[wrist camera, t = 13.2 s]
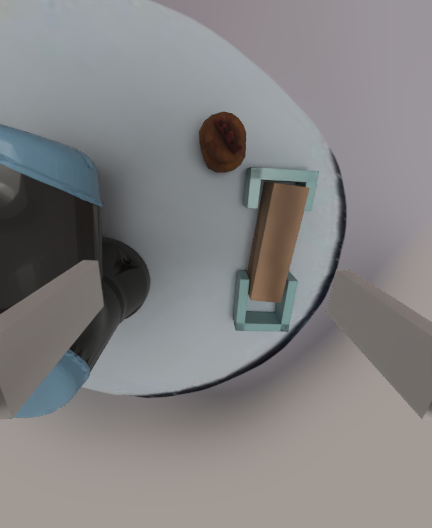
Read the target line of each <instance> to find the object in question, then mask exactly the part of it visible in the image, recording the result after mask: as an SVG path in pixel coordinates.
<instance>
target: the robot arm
mask: <svg viewBox="0 0 432 528" xmlns="http://www.w3.org/2000/svg"><path fill="white" fill-rule="evenodd" d="M101 207H103V203H102V202H101V201H100V192H99V182H98V173H97V169H96V167H95V165H94V163H93V162H92V160H91V159H90V158H89V157H88V156H87V155H85V154H84V153H82V152H81V151H79V150H77V149H74V148H72V147H69V146H67V145H64V144H61V143H59V142H56V141H53V140H50V139H47V138H44V137H41V136H38V135H34V134H31V133H28V132H25V131H22V130H18V129H15V128H12V127H8V126H5V125H2V124H0V419H12V418H30V417H38V416H43V415H46V414H49V413H52V412H54V411H56V410H57V409H58V408H61V407H63V406H65V405H66V404H67V403H68V402H69V401H70V400H71V399H72V398H73V397H74V395H75V394H76V393H77V391H78V390H79V389H80V387H81V386H82V385H83V384H84V383H85V382H86V380H87V379H88V377H89V375H90V372H91V370H92V368H93V367H94V365H95V363H96V362H97V360H98V358H99V357H100V355H101V353H102V351H103V350H104V348H105V346H106V345H107V343H108V341H109V340H110V338H111V336H112V335H113V333H114V331H115V330H116V328H117V326H118V325H119V323H121V322H122V321H123V320H124V319H126V318H128V317H130V316H131V315H133V314H134V313H135V312H137V311H138V310H139V308H140V307H141V306H142V304H143V303H144V301H145V299H146V297H147V295H148V292H149V288H150V276H149V272H148V269H147V267H146V265H145V263H144V261H143V260H142V258H141V257H140V256H139V255H138V254H137V253H136V252H135V251H134V250H133V249H132V248H130V247H129V246H127V245H126V244H124V243H122V242H119V241H116V240H113V239H109V238H102V224H101ZM326 312H327V314H328V315H329V316H330V317H331V318H332V319H333V320H334V321H335V322H336V323H337V325H338V326H339V327H340V328H341V329H342V330H343V331H344V333H345V334H346V335H347V336H348V337H349V338H350V339H351V340H352V341H353V343H354V344H355V345H356V346H357V347H358V348H359V349H360V350H361V352H362V353H363V354H364V355H365V356H366V357H367V358H368V359H369V360H370V362H372V364H373V365H374V366H375V367H376V368H377V369H378V370H379V371H380V373H381V374H382V375H383V376H384V377H385V378H386V379H387V381H389V383H390V384H391V385H392V386H393V387H394V388H395V390H396V391H397V392H398V393H399V394H400V395H401V396H402V397H403V398H404V400H405V401H406V402H407V403H408V404H409V405H410V406H411V407H412V409H413V410H414V411H415V412H416V413H417V414H418V415H419V416H420V417H421V419H432V322H431V321H429V320H427V319H426V318H424V317H422V316H421V315H420V314H418V313H416V312H415V311H413V310H412V309H410V308H409V307H407V306H406V305H404V304H402V303H401V302H399V301H398V300H396V299H395V298H393V297H391V296H390V295H388V294H387V293H385V292H383V291H382V290H380V289H379V288H377V287H375V286H374V285H373V284H371V283H369V282H368V281H366V280H365V279H363V278H362V277H360V276H358V275H357V274H355V273H353V272H352V271H351V270H339V269H336V273H335V277H334V281H333V285H332V289H331V294H330V297H329V301H328V305H327V309H326Z"/></svg>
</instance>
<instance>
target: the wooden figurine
mask: <svg viewBox="0 0 432 528" xmlns="http://www.w3.org/2000/svg"><path fill="white" fill-rule="evenodd" d="M199 137H200V145H201V150H202V154H203V157H204V160H205V162H206V164H207V166H208V168H209V169H211V170H213V171H214V172H228V171H232V170H234V169H236V168H237V167H238V166H240V165H241V163H242V161H243V159H244V158H245V151H246V144H245V143H246V131H245V129H244V126H243V124H242V122H241V121H240V120H239V118H238V117H236V116H235V115H233V114H232V113H228V112H220V113H217V114H214V115H212V116H210V117H209V118H208V119H206V120H205V121H204V123H203V125H202V127H201V129H200V131H199Z"/></svg>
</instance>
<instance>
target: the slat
mask: <svg viewBox="0 0 432 528" xmlns="http://www.w3.org/2000/svg"><path fill="white" fill-rule="evenodd" d="M309 189H310V188H308V187H301V186H294V185H286V184H279V183H269V182H264V186H263V192H262V197H261V202H260V208H259V213H258V218H257V223H256V229H255V234H254V239H253V245H252V250H251V255H250V261H249V266H248V271H247V275H248V277H249V289H248V294H249V297H250V300H256V301H267V302H277V303H281V299H282V295H283V291H284V287H285V283H286V279H287V275H288V272H289V268H290V264H291V260H292V256H293V252H294V248H295V244H296V240H297V236H298V232H299V228H300V224H301V221H302V217H303V213H304V209H305V205H306V201H307V197H308V193H309Z"/></svg>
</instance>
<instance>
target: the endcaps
mask: <svg viewBox="0 0 432 528" xmlns="http://www.w3.org/2000/svg"><path fill="white" fill-rule="evenodd" d="M318 174H319V171H305V170H288V169H272V168H255V167H251V168H247V172H246V183H245V194H244V206H246V207H247V208H258V201H259V192H260V183H261V180H275V181H292V182H296V186H301V187H308V188H310V189H309V193H308V197H307V201H306V205H305V209H304V211H311V210H312V205H313V200H314V195H315V190H316V184H317V179H318ZM297 283H298V281H297V280H296V279H295V278H294V276H293V275H292V274H291V273H290V272H288V275H287V279H286V283H285V287H284V291H283V295H282V299H281V303H276V309H275V312H247V311H246V307H247V298H248V289H249V277H248V275H247V272H246V271H242V270H237V281H236V292H235V303H234V314H233V320H234V325H235V330H238V331H284V332H288V330H289V324H290V319H291V314H292V309H293V304H294V299H295V293H296V288H297Z"/></svg>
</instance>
